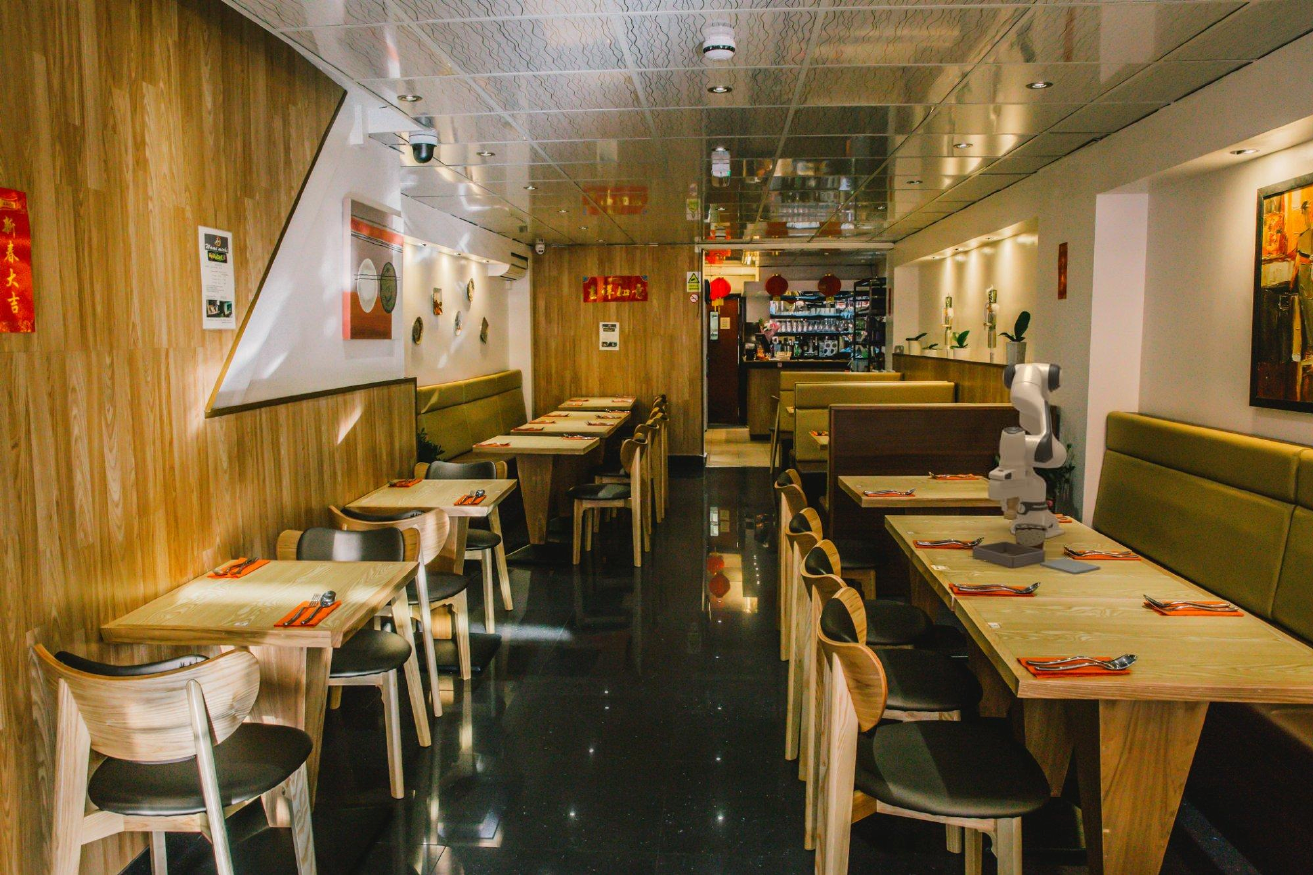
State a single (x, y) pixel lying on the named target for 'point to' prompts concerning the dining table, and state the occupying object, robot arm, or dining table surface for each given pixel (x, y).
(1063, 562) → the mat
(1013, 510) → the peg
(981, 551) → the frame
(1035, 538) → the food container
